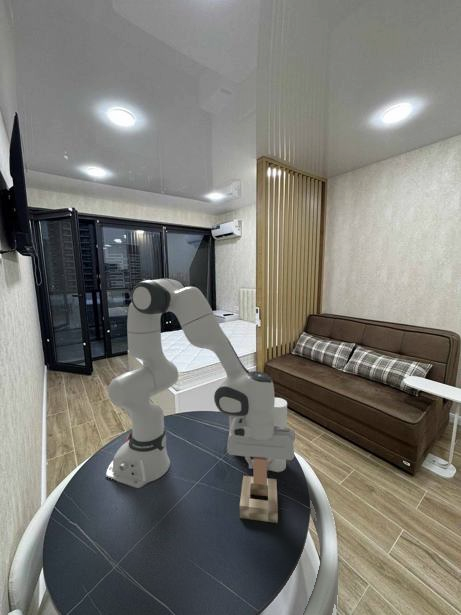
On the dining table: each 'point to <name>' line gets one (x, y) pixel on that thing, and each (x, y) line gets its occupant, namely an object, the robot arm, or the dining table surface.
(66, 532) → the dining table surface
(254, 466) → the peg
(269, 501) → the socket block
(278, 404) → the cylindrical container
